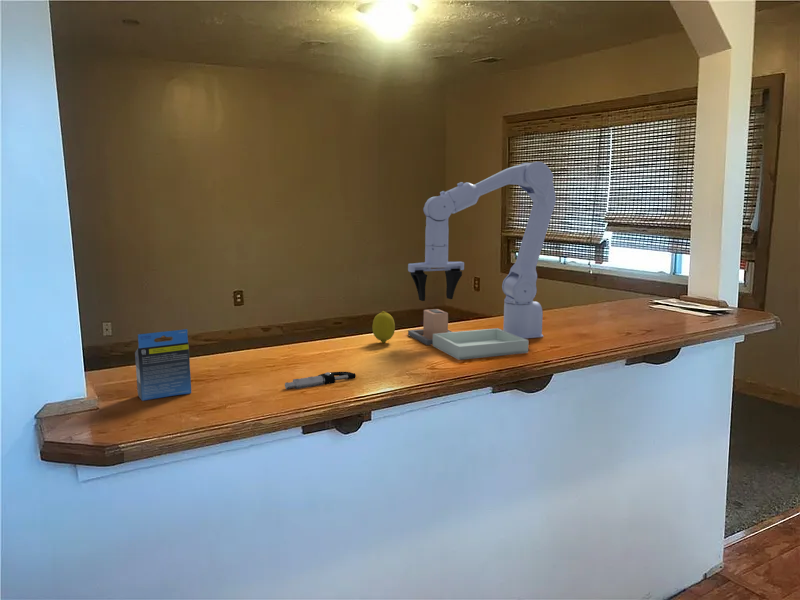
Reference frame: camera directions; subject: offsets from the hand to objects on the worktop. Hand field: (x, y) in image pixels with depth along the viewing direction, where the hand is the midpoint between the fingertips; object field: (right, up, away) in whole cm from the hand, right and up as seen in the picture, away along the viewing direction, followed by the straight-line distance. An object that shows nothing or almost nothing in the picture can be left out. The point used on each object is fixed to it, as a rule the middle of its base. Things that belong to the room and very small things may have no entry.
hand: (435, 299), depth 167 cm
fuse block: (0, -10, +2) cm, 10 cm away
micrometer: (-25, -17, -35) cm, 46 cm away
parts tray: (+10, -12, -9) cm, 18 cm away
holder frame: (0, -10, +2) cm, 10 cm away
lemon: (-13, -11, -3) cm, 17 cm away
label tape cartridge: (-52, -18, -44) cm, 71 cm away
